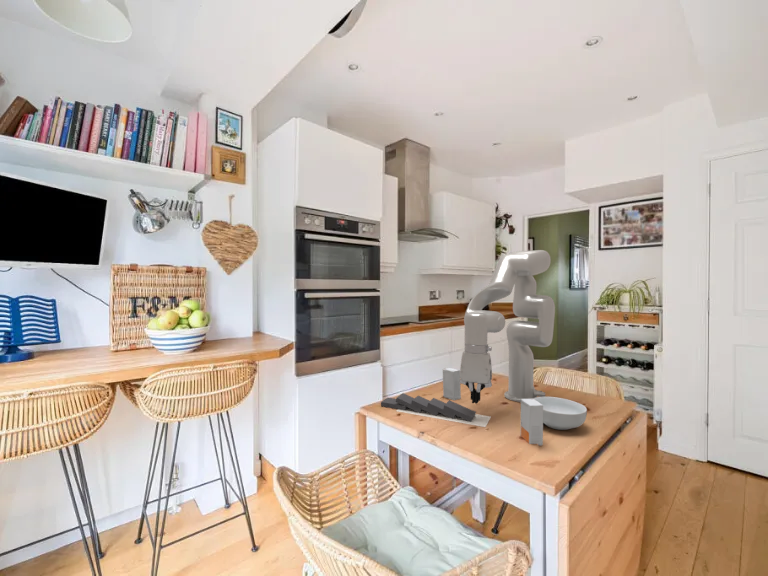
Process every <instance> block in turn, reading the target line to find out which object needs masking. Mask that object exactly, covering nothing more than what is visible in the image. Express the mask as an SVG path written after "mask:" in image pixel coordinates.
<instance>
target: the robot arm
mask: <svg viewBox="0 0 768 576" xmlns="http://www.w3.org/2000/svg"><path fill="white" fill-rule="evenodd" d="M551 259H552V258H551V255H550V253H549V252H548V251H547V250H543V249H537V250H535V249H534V250H519V251H518V250H517V251H512V252H509V253H508V254H504V255H501V257H499V259H498V261H497V263H496V267H495V268H494V271H493V274H492V276H491V279H490V281H489V283H488V284H487V286H485V287H483V288H482V289H481V290H480V291H478V292H477V293H476V294H475V295H474V296H473V297H472V298H471V299H470V301H469V303H468V305H467V308H466V310H465V313H464V317H463V324H464V350H463V351H462V354H461V361H460V366H459V370H460V385H461V384H462V385H465V386H466V387H467V388H468V390H469V392H470V400H471V403H472V404H476V405H478V403H479V402H480V401H481V391H482V390H483V389H487V388H492V386H493V385H492V379H493V371H492V370H493V369H492V368H493V367H492V366H493V365H492V358H491V354H490V353H489V351H490V352H492V346H489V344H488V333H489V334H490V333H494V334H496V333H500V332H501V331H503V329H505V326H506V318H505V316H504V315H503V314H502V313H501V312H499V311H494V310H485V309H484V308H485V307H486V306H488V305H489V304H491V303H493V302H497V301H499V300H502V299H504V298H506V297H509V296H510V295H511V294H512V293H513V299H512V311H513V312H512V313H513V314H514V315H515V317H518V318H523V319H524V318H525V319H535V320H537V319H538V322H537V321H531V320H530V321H529V320H514V321H511V322H509V323H508V325H507V327H506V329H505V330H506V339H507V345H508V390H507V391H505V392H504V398H506V399H507V400H509V401H513V402H517V403H521V399H534V398H537V397H546V392H543V390H537V389H536V388H535V386H534V361H535V360H534V353H533V351H532V349H531V348H530V347H531V346H532V347H539V348H546V347H549V346H550V345H551V344H552V343H553V337H554V328H555V327H554V326H555V315H556V313H555V312H556V305H555V301H554V299H553V298H552V297H551V296H549V295H544V294H537V281H536V279H535V278H534V276H537V275H539V274H542V273H544V272H546V271H548V269H549V267H550V265H551V262H552V261H551ZM483 309H484V310H483ZM475 384H476V386H475Z"/></svg>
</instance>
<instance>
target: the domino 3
mask: <svg viewBox="0 0 768 576" xmlns="http://www.w3.org/2000/svg"><path fill="white" fill-rule="evenodd" d="M413 398H414V399H413V400H412V403H411V404H412V405H414V406H416V407H418V408H420V409H422V410H425V411H427V412H429V413H431V414H433V415H436V416H437V415H438V414H439V412H437V411H435V410H433V409H431V408H428V407H427V405H428V402H430V401H431V400H429V399H426V398H425V397H422V396H420V395H417V396H416V397H413Z"/></svg>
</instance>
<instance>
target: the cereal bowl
mask: <svg viewBox="0 0 768 576" xmlns="http://www.w3.org/2000/svg"><path fill="white" fill-rule="evenodd" d="M534 400H536V401H538V402H539V403H540V404H542V405H543V425H545V426H547V427H548V428H550V429H553V430H554V429H555V430H559V431H565V430H570V429H575V428H576V429H577V428H579V427H580V426H583V424H584V423H585V421H586V419H587V415H588V414H587V413H588V409H587V407H586V406H585V405H584V404H582V403H579V402H578V401H577V402H576V401H574V400H570V399H567V398H563V397H556V396H555V397H554V396H545V397H540V396H537V398H534Z"/></svg>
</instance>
